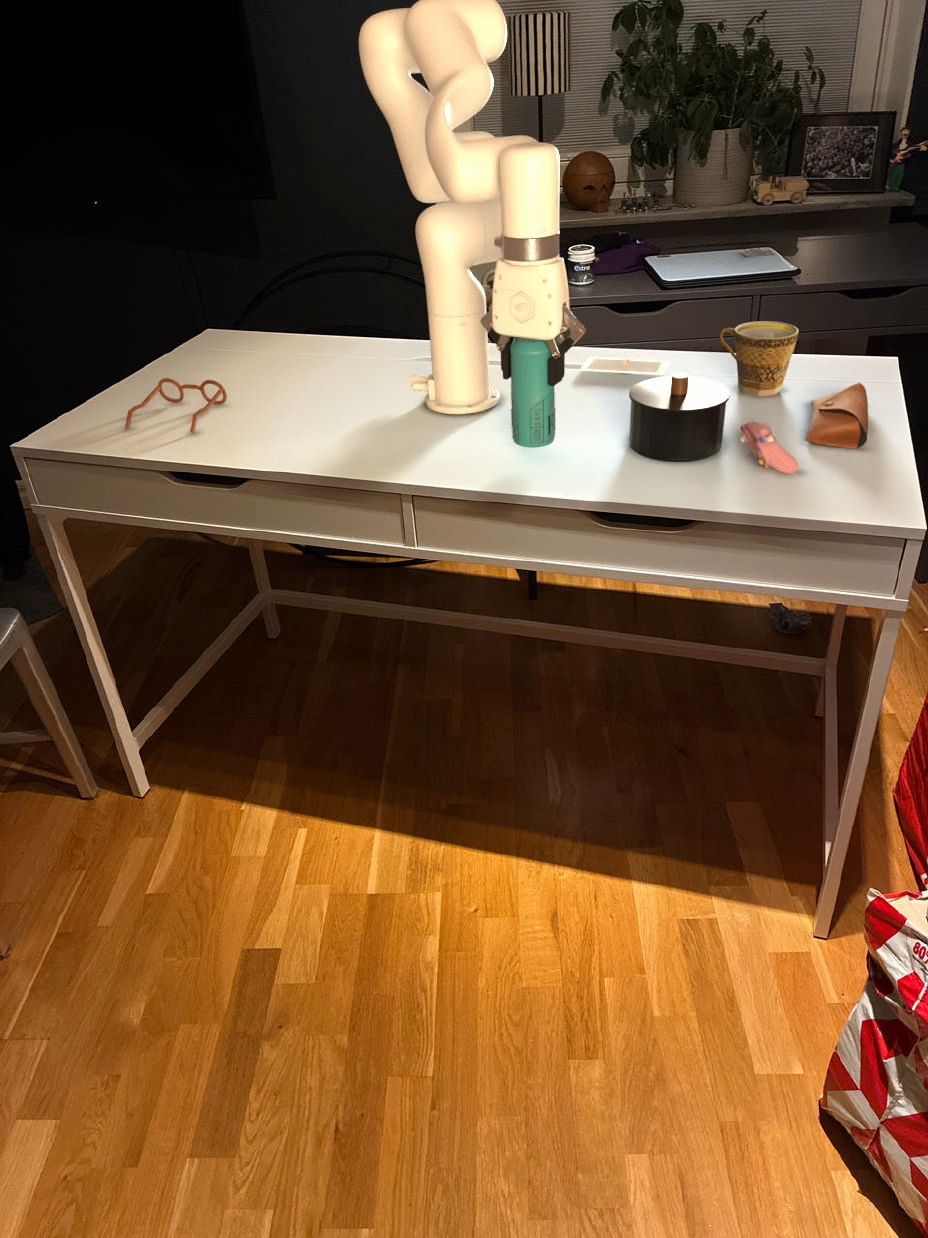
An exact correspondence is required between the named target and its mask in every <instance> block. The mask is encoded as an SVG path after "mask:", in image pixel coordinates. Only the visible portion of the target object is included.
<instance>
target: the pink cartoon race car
mask: <svg viewBox="0 0 928 1238" xmlns="http://www.w3.org/2000/svg"><path fill="white" fill-rule="evenodd" d="M739 428H740V431H741V434H739V440H740V442H742V443H745V442H746V443H747V444H748V446H749V448H750V450H751V451H752V453H753V455H754V457H755V459H757V460H758V464H759V465H762V466H763V467H764V469H768V468H771V467H772V468H773V469H775V470H776V471H778V472H781V473H782V474H787V475H790V474H791V475H792V474H795V473H796V472H797V471H798V468H799V463H798V461H797V458H795V457H794V456H792V455H791V454H790V453H788V452H787V451H786V450H785V449H784V448H783V447H782V446H781V445H780V443H779V442H778V440H777V438H776V436H775V435H774V434H773V430H772V428H771V427H770V426H769V425H768V424H766V423H764V422H760V421H758V420H757V419H756V418H755V419H754V420H753V421H751V420H750V421H748V422H746V423H744V424H742V425H740V427H739Z"/></svg>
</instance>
